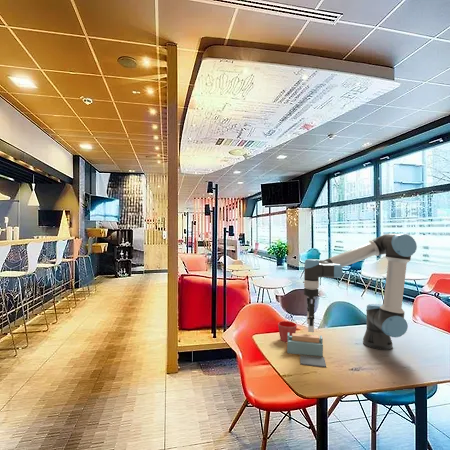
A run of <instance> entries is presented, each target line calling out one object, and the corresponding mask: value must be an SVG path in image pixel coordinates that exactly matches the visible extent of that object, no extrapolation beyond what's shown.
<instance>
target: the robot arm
mask: <svg viewBox="0 0 450 450" xmlns="http://www.w3.org/2000/svg"><path fill="white" fill-rule="evenodd" d="M417 247H418V245H417V242H416V240H415V239H414V237H412V236H411V235H410V234H407V233H403V232H402V233H386V234H382V235H380V236H378V237H376V238H373V239H371V240H369V241H368V243H365V244H362V245H360V246H357V247H355V248H353V249H350V250H346V251H344V252H342V253H339V254H337V255H334V256H331V257H329V258H326V259H323V260H319V259H316V258H314V259H313V258H307V259H305V260H304V267H303V268H304V270H303V271H304V272H303V273H304V275H303V276H304V277H303V281H302V283H303V285H304V288H303V295H304V296H305V297H306V303H307V307H306V309H307V310H306V311H307V312H306V313H307V318H306V320H307V321H306V324H308V327H307V330H308V331H307V332H310V333H314V332H315V305H316V300H315V298H314V297H318V296H319V288H320V283H319V281H320V279H319V278H329V279H330V278H333V279H341V277H342V276H343V268H345V267H348V266H350V265H352V264H355V263H357V262H360V261H363V260H365V259H369V258H371V257H372V256H373V257H374V256H376V257H379V256H381V255H385V258H386V259H387V267H386V269H387V271H386V278H385V286H384V287H385V288H384V293H383V294H384V296H383V304H377V303H370V304H367V305H366V330H365V332H364V336H363V338H362V342H363V344H364V345H365V346H367V347H369V348H371V349H372V348H373V349H376V350H385V351H387V350H391V349H393V340H392V338H401V337H402V336H404V335H405V334H406V333H407V331H408V327H409V326H408V323H407V320H406V319H405V311H404V309H403V298H404V291H405V284H406V283H405V282H406V281H405V280H406V275H407V274H406V272H407V266H408V265H407V264H408V263H409V262H410V261H411V259H412V256H413V255H414V254H415V253H416V251H417Z"/></svg>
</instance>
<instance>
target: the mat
mask: <svg viewBox="0 0 450 450" xmlns="http://www.w3.org/2000/svg"><path fill="white" fill-rule="evenodd" d="M299 362H300V365H302V366H309V367H319V368H327V363H326V360H325V357H324V356H323V357H319V356H309V355H300V354H299Z"/></svg>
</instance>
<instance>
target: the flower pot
mask: <svg viewBox="0 0 450 450" xmlns="http://www.w3.org/2000/svg"><path fill="white" fill-rule="evenodd" d="M277 326H278V332H279V338H280V341H281V342H283V343H287V341H288V333H289V336H292V333H296V332H297V327H298V325H297V323H295V322H293V321H288V320H287V321H286V320H283V321H282V320H281V321H279V322H277ZM296 334H297V333H296Z"/></svg>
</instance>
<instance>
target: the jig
mask: <svg viewBox="0 0 450 450" xmlns="http://www.w3.org/2000/svg"><path fill="white" fill-rule="evenodd" d="M286 343H287V345H286V347H287V349H286V350H287V351H286V352H287V354H292V355H293V354H294V355H299V356H300V355H306V356H315V357H324V344H323V343H324V340H323V335H319V343H313V342H303V341H293V340H292V336H289V333H288V341H287V342H286Z"/></svg>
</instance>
